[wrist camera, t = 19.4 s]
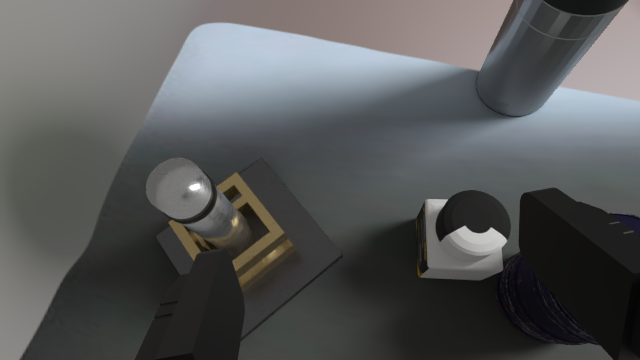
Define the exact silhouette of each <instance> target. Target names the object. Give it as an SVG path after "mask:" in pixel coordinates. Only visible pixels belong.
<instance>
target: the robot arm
mask: <svg viewBox="0 0 640 360" xmlns="http://www.w3.org/2000/svg"><path fill="white" fill-rule="evenodd" d="M627 2H628V0H513V3H512V4H511V7H510V9H509V11H508V13H507V15H506V17H505V19H504V21H503V24H502V26H501V28H500V30H499V32H498V34H497V36H496V38H495V40H494V43H493V45H492V47H491V49H490V51H489V53H488V55H487V57H486V60H485V62H484V64H483V66H482V68H481V70H480V72H479V75H478V77H477V82H476V85H477V91H478V94H479V96H480V97H481V99H482V100H483V102H484V103H485V104H486V105H487V106H489V107H490V108H492V109H493V110H495V111H497V112H499V113H501V114H505V115H509V116H524V115H528V114H531V113H533V112H535V111H537V110H538V109H539V108H541V107H542V106H543V105H544V103H545V102H546V101H547V100H548V99H549V97H550V96H551V95H552V94H553V92H554V91H555V90H556V89H557V88H558V86H559V85H560V84H561V83H562V81H563V80H564V79H565V78H566V77H567V75H568V74H569V73H570V72H571V71H572V69H573V68H574V67H575V66H576V64H577V63H578V62H579V61H580V60H581V58H582V57H583V56H584V54H585V53H586V52H587V51H588V50H589V48H590V47H591V46H592V45H593V44H594V42H595V41H596V40H597V39H598V37H599V36H600V35H601V34H602V33H603V31H604V30H605V29H606V28H607V26H608V25H609V24H610V22H611V21H612V20H613V19H614V17H615V16H616V15H617V14H618V13H619V11H620V10H621V9H622V8H623V7H624V5H625V4H626V3H627ZM519 248H520V252H521V255H522V258H523V260H524V261H525V263H526V264H527V266H528V267H529V268H530V269H531V270H532V271H533V272H534V273H535V275H536V276H537V277H538V278H539V279H540V280H541V281H542V282H543V283H544V284H545V285H546V286H547V288H548V289H549V290H550V291H551V292H552V293H553V294H554V295H555V296H556V297H557V298H558V300H559V301H560V302H561V303H562V304H563V305H564V306H565V307H566V308H567V309H568V310H569V312H570V313H571V314H572V315H573V316H574V317H575V318H576V319H577V320H578V321H579V322H580V324H581V325H582V326H583V327H584V328H585V329H586V330H587V331H588V332H589V333H590V334H591V336H592V337H593V338H594V339H595V340H596V341H597V342H598V343H599V344H600V345H601V346H602V348H603V349H604V350H605V351H606V352H607V353H608V354H609V355H610V356H611V357H612V358H613V360H640V234H639V233H638V232H634V231H633V229H632V228H630V227H629V226H627V225H625V224H624V223H620V222H619V220H618V219H616V218H615V217H613V216H611V215H610V214H608V213H607V212H605V211H604V210H602V209H599V208H596V207H594V206H591V205H588V204H585V203H582V202H576V201H575V200H573V199H572V198H570V197H569V196H567V195H566V194H564V193H563V192H561V191H560V190H559V189H557V188H548V189H542V190H537V191H532V192H526V193H524V194H523V195H522V196H521V199H520V219H519ZM244 316H245V305H244V298H243V293H242V290H241V287H240V284H239V281H238V278H237V275H236V271H235V268H234V265H233V262H232V259H231V256H230V253H229V251H228V250H227V249H226V248H222V249H217V250H211V251H206V252H200V253H198V254H197V255H196V257H195V260H194V262H193V265H192V267H191V270H190V272H189V273H188V274H183V275H180V276H179V277H178V278H177V279H176V280H175V281H174V282H173V283H172V285H171V286H170V287H169V288H168V289H167V290H166V293H165V295H164V297H163V299H162V301H161V304H160V307H159V308H158V310H157V312H156V314H155V320H153V321H152V323H151V325H150V328H149V330H148V332H147V334H146V336H145V339H144V341H143V343H142V345H141V347H140V349H139V352H138V354H137V356H136V358H135V360H238V354H239V347H240V341H241V335H242V329H243V323H244Z"/></svg>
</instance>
